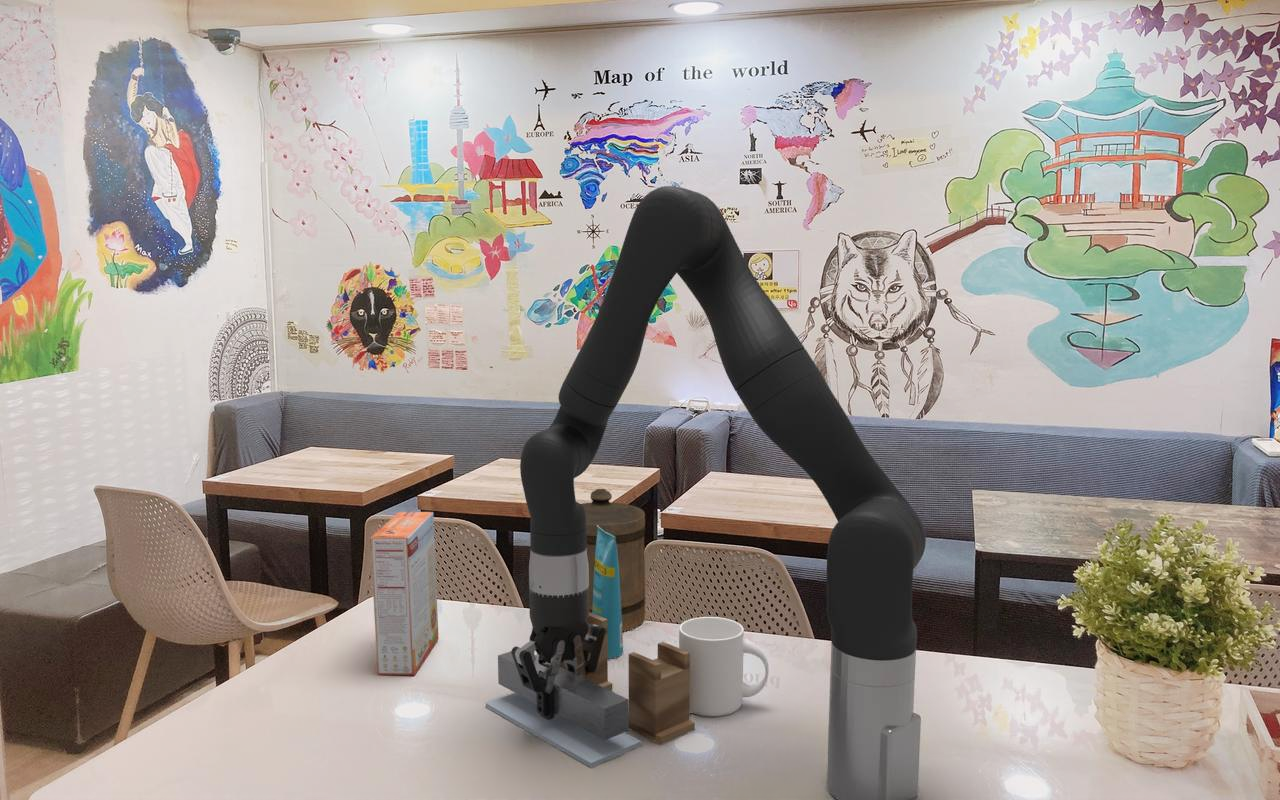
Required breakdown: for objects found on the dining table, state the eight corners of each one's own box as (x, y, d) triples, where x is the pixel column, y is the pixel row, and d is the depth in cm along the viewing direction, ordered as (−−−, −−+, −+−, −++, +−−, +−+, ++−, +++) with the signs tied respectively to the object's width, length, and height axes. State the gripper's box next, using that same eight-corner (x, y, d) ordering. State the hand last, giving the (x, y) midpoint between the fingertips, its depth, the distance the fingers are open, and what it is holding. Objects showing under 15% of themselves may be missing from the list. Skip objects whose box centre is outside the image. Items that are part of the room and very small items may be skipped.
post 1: (612, 690, 141) (612, 621, 140) (578, 703, 137) (578, 632, 136) (580, 674, 146) (580, 608, 145) (547, 686, 142) (546, 618, 141)
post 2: (694, 729, 130) (695, 654, 128) (661, 744, 126) (661, 667, 124) (657, 711, 135) (657, 639, 133) (623, 725, 131) (623, 651, 129)
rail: (628, 730, 124) (628, 699, 123) (604, 740, 121) (604, 708, 120) (521, 675, 140) (520, 648, 139) (498, 683, 137) (497, 655, 136)
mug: (765, 723, 131) (767, 644, 130) (673, 715, 134) (674, 637, 132) (769, 695, 140) (771, 620, 138) (683, 688, 142) (684, 614, 141)
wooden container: (654, 608, 174) (655, 482, 171) (630, 639, 160) (630, 503, 157) (573, 600, 178) (572, 477, 175) (542, 630, 164) (541, 497, 161)
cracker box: (402, 639, 160) (397, 510, 157) (439, 640, 159) (436, 510, 156) (373, 676, 146) (368, 534, 143) (414, 677, 146) (410, 535, 143)
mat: (640, 745, 125) (640, 741, 125) (591, 767, 120) (591, 763, 120) (533, 689, 141) (533, 685, 141) (485, 706, 136) (485, 702, 136)
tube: (582, 647, 156) (581, 526, 154) (610, 642, 159) (610, 522, 156) (603, 664, 150) (603, 538, 147) (632, 658, 152) (633, 534, 149)
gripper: (531, 603, 120) (533, 740, 123) (620, 578, 130) (621, 705, 132) (495, 588, 126) (497, 719, 128) (583, 565, 135) (584, 687, 138)
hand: (560, 711), depth 130 cm, fingers closed on rail, 3 cm apart
